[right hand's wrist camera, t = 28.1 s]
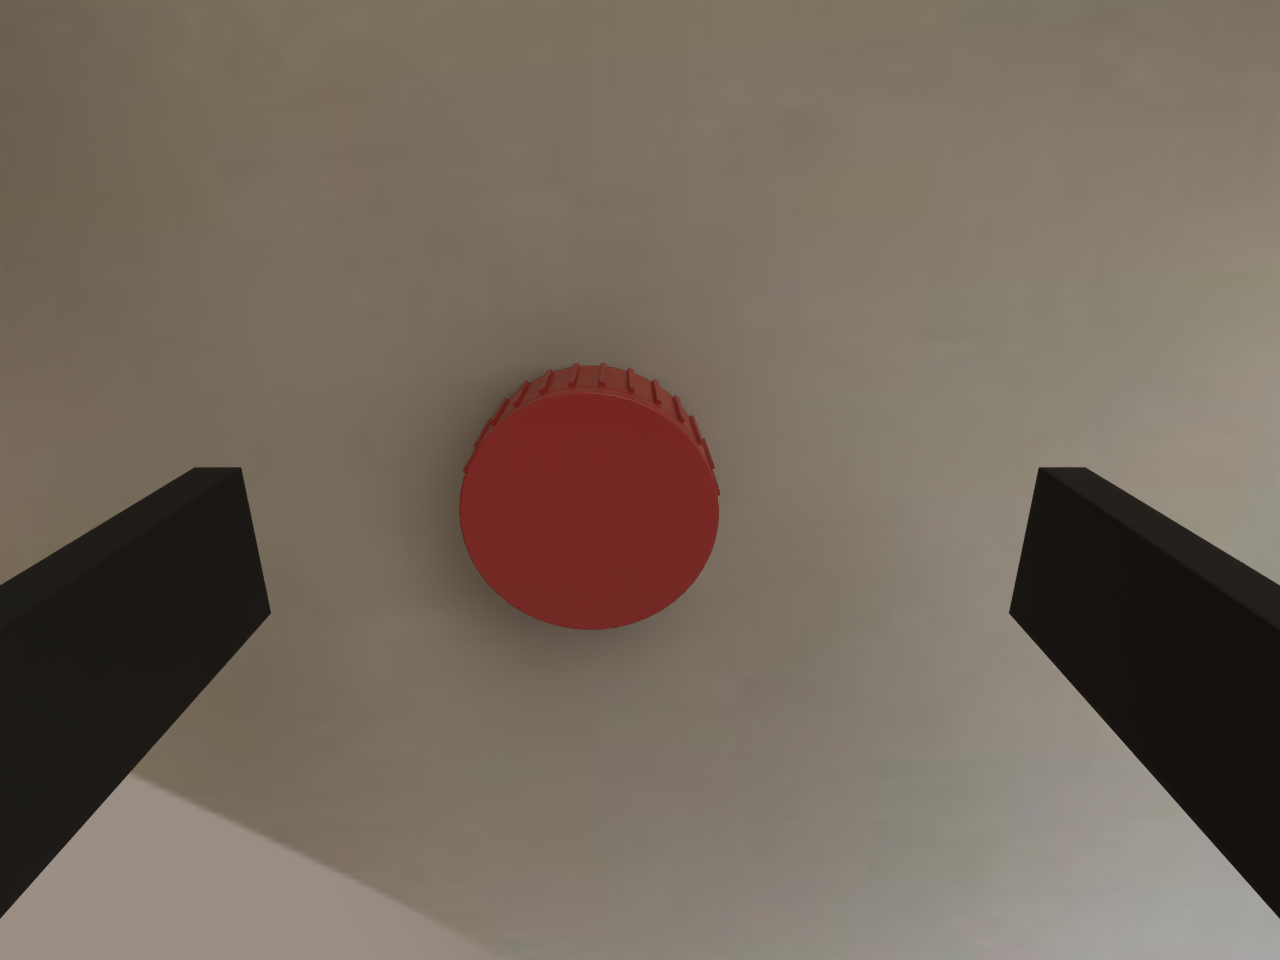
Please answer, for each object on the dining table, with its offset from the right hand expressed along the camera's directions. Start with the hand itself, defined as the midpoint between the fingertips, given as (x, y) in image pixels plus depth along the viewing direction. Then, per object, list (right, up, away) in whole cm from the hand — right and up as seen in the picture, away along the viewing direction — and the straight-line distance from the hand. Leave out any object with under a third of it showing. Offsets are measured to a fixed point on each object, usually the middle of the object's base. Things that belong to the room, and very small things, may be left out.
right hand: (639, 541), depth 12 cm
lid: (-1, 0, +2) cm, 2 cm away
